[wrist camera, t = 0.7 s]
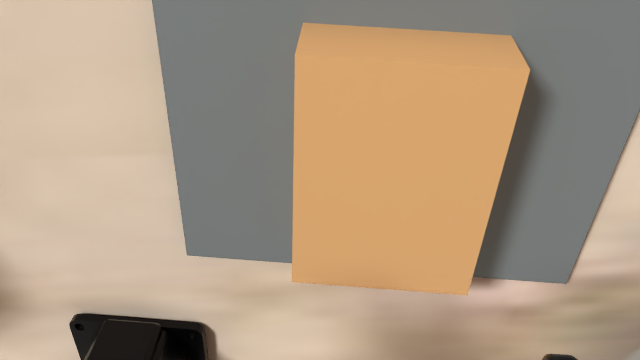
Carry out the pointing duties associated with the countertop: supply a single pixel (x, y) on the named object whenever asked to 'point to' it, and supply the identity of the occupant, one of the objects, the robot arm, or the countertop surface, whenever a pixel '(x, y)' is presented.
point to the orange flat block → (398, 153)
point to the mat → (402, 13)
